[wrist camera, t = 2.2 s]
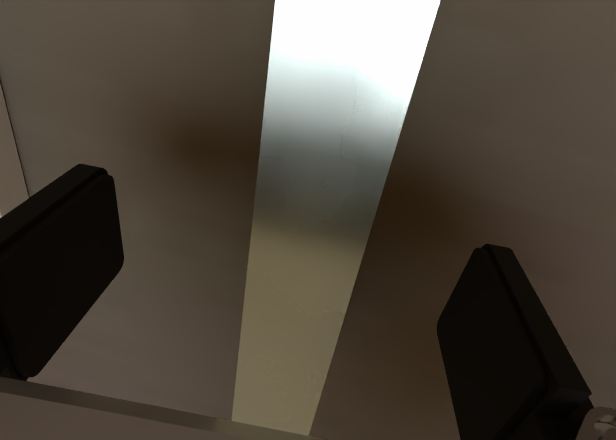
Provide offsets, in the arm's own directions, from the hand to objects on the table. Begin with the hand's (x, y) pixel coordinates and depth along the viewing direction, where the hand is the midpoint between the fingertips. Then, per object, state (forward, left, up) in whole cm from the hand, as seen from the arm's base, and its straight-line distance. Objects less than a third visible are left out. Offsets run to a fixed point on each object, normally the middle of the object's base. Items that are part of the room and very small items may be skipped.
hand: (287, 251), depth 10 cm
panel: (-1, 0, -5) cm, 5 cm away
